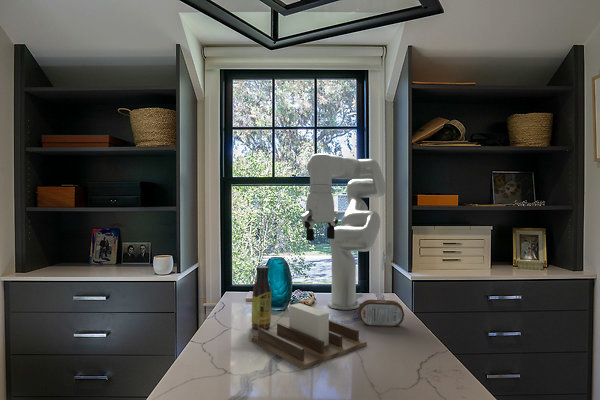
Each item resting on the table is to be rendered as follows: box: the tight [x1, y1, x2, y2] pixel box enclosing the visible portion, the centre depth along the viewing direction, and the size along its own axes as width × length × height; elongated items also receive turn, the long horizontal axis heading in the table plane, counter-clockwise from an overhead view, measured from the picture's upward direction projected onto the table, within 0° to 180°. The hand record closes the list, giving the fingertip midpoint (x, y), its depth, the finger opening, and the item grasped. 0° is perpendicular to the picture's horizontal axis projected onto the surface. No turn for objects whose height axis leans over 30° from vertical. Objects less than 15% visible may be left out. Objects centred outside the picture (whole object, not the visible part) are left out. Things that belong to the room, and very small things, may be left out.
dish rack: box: [250, 319, 368, 370], centre depth 110 cm, size 24×24×4 cm
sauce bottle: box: [251, 265, 272, 330], centre depth 123 cm, size 6×6×20 cm
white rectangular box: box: [288, 302, 330, 346], centre depth 110 cm, size 4×13×9 cm, turn 40°
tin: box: [357, 299, 405, 328], centre depth 125 cm, size 15×3×8 cm, turn 84°
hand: (320, 239), depth 129 cm, fingers open, 9 cm apart
